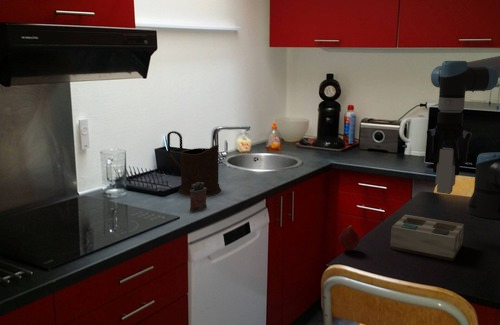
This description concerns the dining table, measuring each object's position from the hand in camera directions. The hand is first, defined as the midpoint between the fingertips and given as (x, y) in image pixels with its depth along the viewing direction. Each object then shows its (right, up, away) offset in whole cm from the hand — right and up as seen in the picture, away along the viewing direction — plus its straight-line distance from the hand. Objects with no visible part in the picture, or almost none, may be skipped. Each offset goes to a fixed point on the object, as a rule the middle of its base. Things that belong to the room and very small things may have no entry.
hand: (445, 183), depth 169 cm
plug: (0, -3, +1) cm, 3 cm away
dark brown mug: (-87, -5, +57) cm, 104 cm away
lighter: (-82, -11, +30) cm, 88 cm away
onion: (-33, -20, -12) cm, 40 cm away
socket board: (-9, -19, -8) cm, 22 cm away
